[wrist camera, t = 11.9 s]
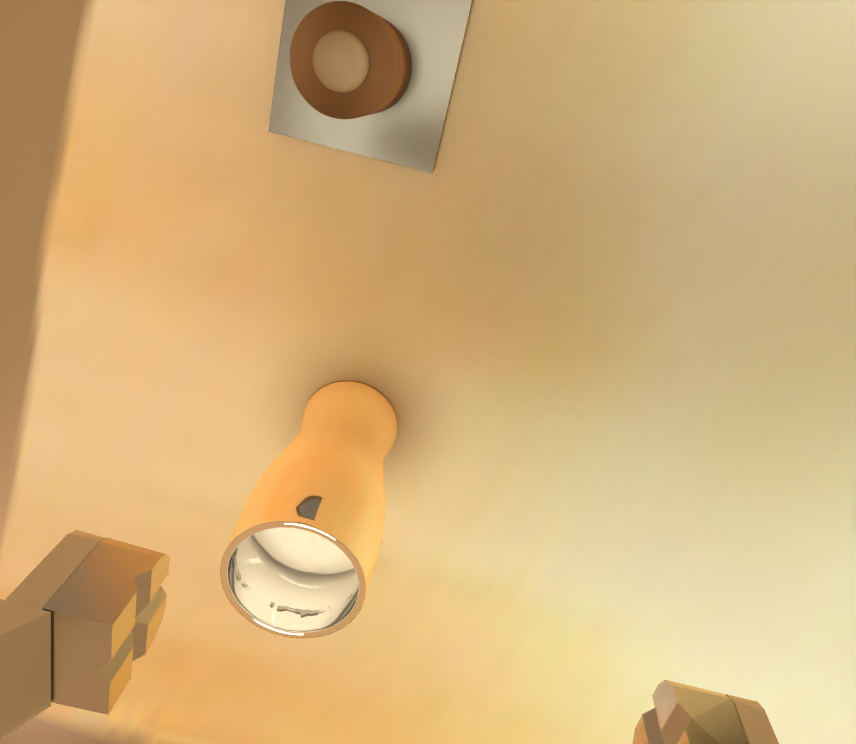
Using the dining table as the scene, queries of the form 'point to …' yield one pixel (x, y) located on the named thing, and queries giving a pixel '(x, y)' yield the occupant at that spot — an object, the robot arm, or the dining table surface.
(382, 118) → the coaster
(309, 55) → the pepper mill
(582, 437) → the dining table surface
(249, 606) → the beer glass
